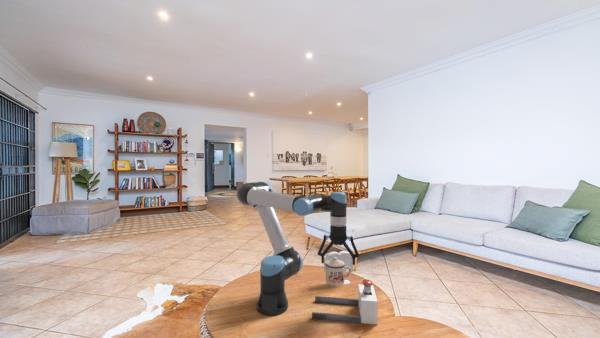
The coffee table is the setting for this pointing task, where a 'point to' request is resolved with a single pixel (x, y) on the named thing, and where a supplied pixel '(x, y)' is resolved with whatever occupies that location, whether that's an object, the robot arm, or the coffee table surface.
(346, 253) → the heart sculpture
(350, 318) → the pair of grey rails
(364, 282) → the red knob
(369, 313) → the end cabinet
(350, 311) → the coffee table surface
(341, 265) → the teacup with lid
